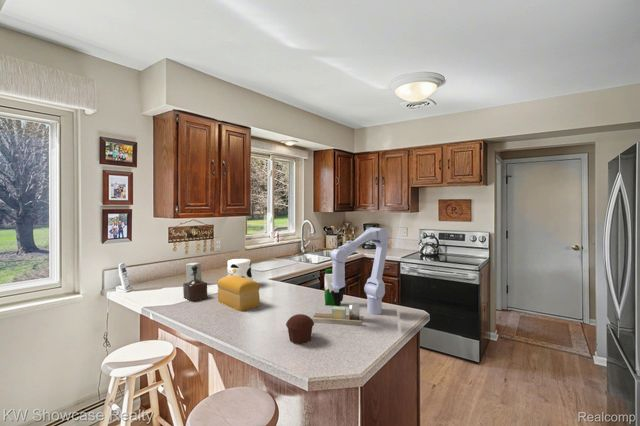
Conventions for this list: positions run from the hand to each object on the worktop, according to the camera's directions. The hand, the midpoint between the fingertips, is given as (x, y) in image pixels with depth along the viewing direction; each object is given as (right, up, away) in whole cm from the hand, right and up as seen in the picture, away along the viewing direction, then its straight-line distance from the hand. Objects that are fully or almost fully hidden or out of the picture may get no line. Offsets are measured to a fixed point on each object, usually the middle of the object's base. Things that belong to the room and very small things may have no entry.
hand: (338, 303), depth 150 cm
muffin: (-17, -10, -18) cm, 27 cm away
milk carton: (-2, -9, +26) cm, 28 cm away
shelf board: (-1, -9, +2) cm, 10 cm away
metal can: (+7, -8, +2) cm, 11 cm away
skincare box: (-96, -8, +70) cm, 119 cm away
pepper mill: (-85, -9, +43) cm, 96 cm away
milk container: (-64, -8, +67) cm, 93 cm away
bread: (-55, -9, +30) cm, 63 cm away
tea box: (0, -8, 0) cm, 8 cm away
